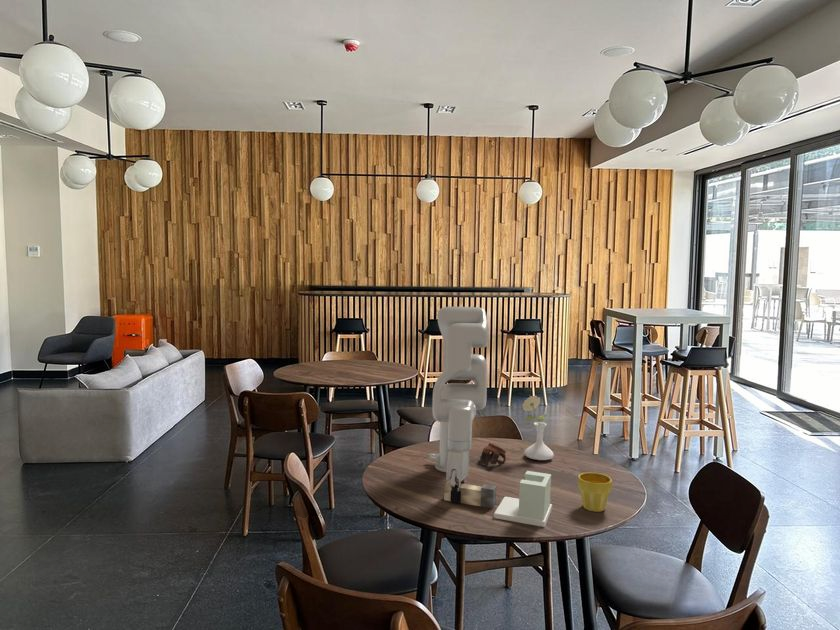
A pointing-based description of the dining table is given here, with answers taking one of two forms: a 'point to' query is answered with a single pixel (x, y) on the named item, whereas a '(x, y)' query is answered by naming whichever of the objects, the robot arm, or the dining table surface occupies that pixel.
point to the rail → (474, 494)
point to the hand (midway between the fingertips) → (457, 499)
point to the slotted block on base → (528, 501)
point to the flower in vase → (538, 448)
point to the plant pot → (594, 490)
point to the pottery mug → (492, 454)
